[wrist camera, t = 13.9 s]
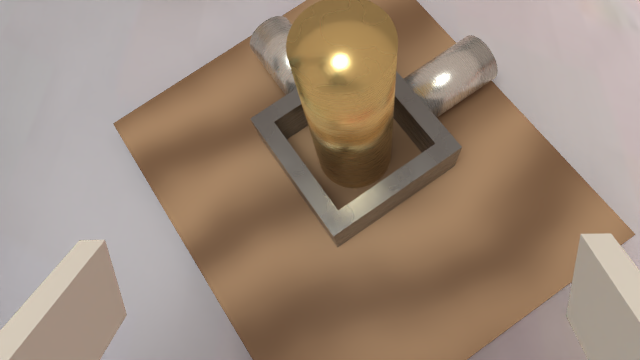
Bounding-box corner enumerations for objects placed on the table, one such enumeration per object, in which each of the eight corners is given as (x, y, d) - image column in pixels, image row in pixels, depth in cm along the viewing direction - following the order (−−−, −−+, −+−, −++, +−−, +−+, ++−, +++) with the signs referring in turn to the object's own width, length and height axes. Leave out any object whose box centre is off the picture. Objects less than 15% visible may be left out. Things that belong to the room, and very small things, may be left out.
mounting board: (120, 129, 35) (113, 123, 35) (375, -34, 38) (375, -44, 37) (320, 466, 28) (318, 470, 27) (627, 238, 30) (635, 234, 29)
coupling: (304, 146, 33) (265, 34, 21) (362, 107, 33) (354, -23, 22) (345, 202, 31) (326, 114, 20) (406, 160, 32) (421, 51, 20)
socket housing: (221, 82, 35) (207, 57, 32) (387, -25, 36) (388, -58, 33) (337, 247, 30) (333, 236, 28) (521, 119, 32) (535, 96, 29)
